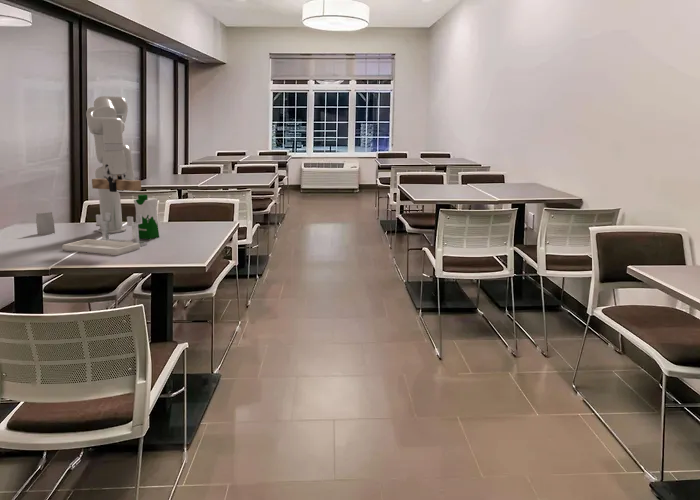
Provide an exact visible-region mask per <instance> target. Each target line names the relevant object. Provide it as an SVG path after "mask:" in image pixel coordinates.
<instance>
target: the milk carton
mask: <svg viewBox="0 0 700 500" xmlns="http://www.w3.org/2000/svg"><path fill="white" fill-rule="evenodd" d="M158 200H159V198H155V197H154V198H153V197H152V198H151V197H148V194H138V195H137V198H136V199H135V198H134V199H133V204H134V207H135V216H136V215H142V224H138V230H139V240H140V239H142V240H153V239H156V237H157V238H160V232H159V225H158V224H159V223H158V221H159V220H158V210H157V209H158Z"/></svg>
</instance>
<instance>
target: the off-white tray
mask: <svg viewBox="0 0 700 500" xmlns="http://www.w3.org/2000/svg"><path fill="white" fill-rule="evenodd" d="M137 249H138V250H141V247H140V243H131V242H118V241H105V240H102V239H92V238H91V239H90V238H86V239H81V240H77V241H74V242H73V241H72V242H69V243H65V244H62V251H66V252H75V253H76V252H77V253H86V252H87V253H88V254H102V255H110V254H111V255H112V256H121V255H124V254H127V252H128V253H130V252H133V251H138V250H137ZM123 253H124V254H123ZM120 254H121V255H120Z"/></svg>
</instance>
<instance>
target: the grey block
mask: <svg viewBox="0 0 700 500" xmlns="http://www.w3.org/2000/svg"><path fill="white" fill-rule="evenodd" d="M35 219H36V222H35V223H36V232H37V235H39V236H43V235H53V234H52V233H54V234H56V229H55V219H54V216H53V212H52V211H49V212H38V213H36V218H35Z"/></svg>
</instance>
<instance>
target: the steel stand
mask: <svg viewBox="0 0 700 500" xmlns="http://www.w3.org/2000/svg"><path fill="white" fill-rule="evenodd" d="M105 217H106V220H102V215H101V214H95V221H96V223H97V224H101V227H102V233H101V237H102V239H101V240H105V241H118V242H131V243H140V248H141V247H144V246H147V245H148V241H142V240H141V241H140V239H139V230H138V224H142V215H136V214H135V222H134V216H126V223H127V226H128V227H129V226H130V227H131V231H132V232H131V234H132V240H129V239H128V240H127V239H114V238H113V239H112V238H109V233H108V223H107V222H112V217H111V213H105Z"/></svg>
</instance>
